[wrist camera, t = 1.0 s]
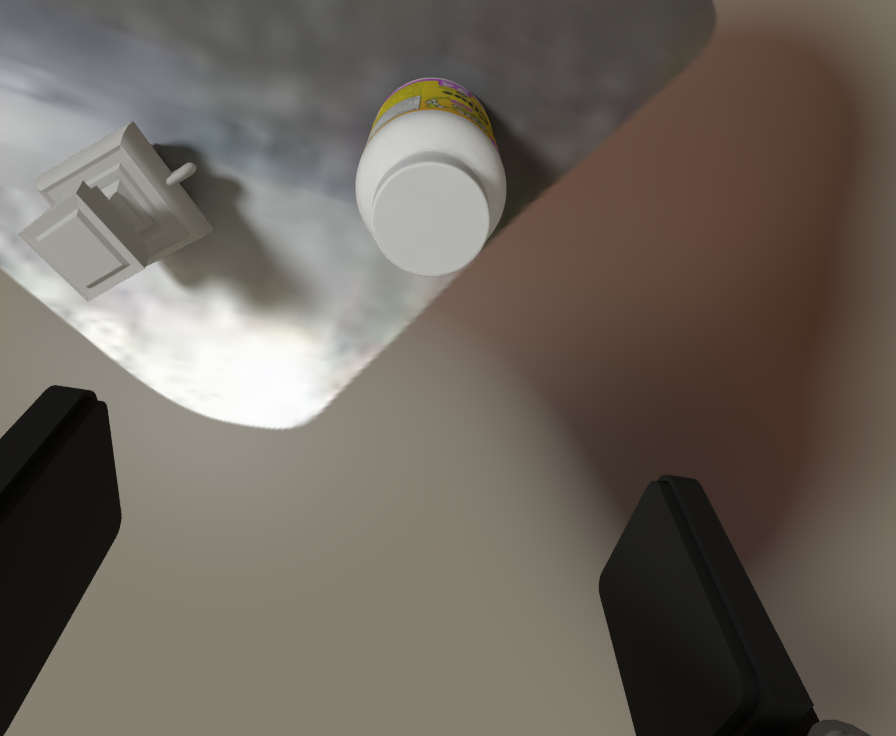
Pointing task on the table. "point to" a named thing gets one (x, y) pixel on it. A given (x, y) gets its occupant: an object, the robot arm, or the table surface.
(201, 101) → the table surface
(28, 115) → the table surface
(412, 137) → the supplement bottle
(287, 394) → the table surface
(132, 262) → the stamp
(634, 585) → the robot arm
